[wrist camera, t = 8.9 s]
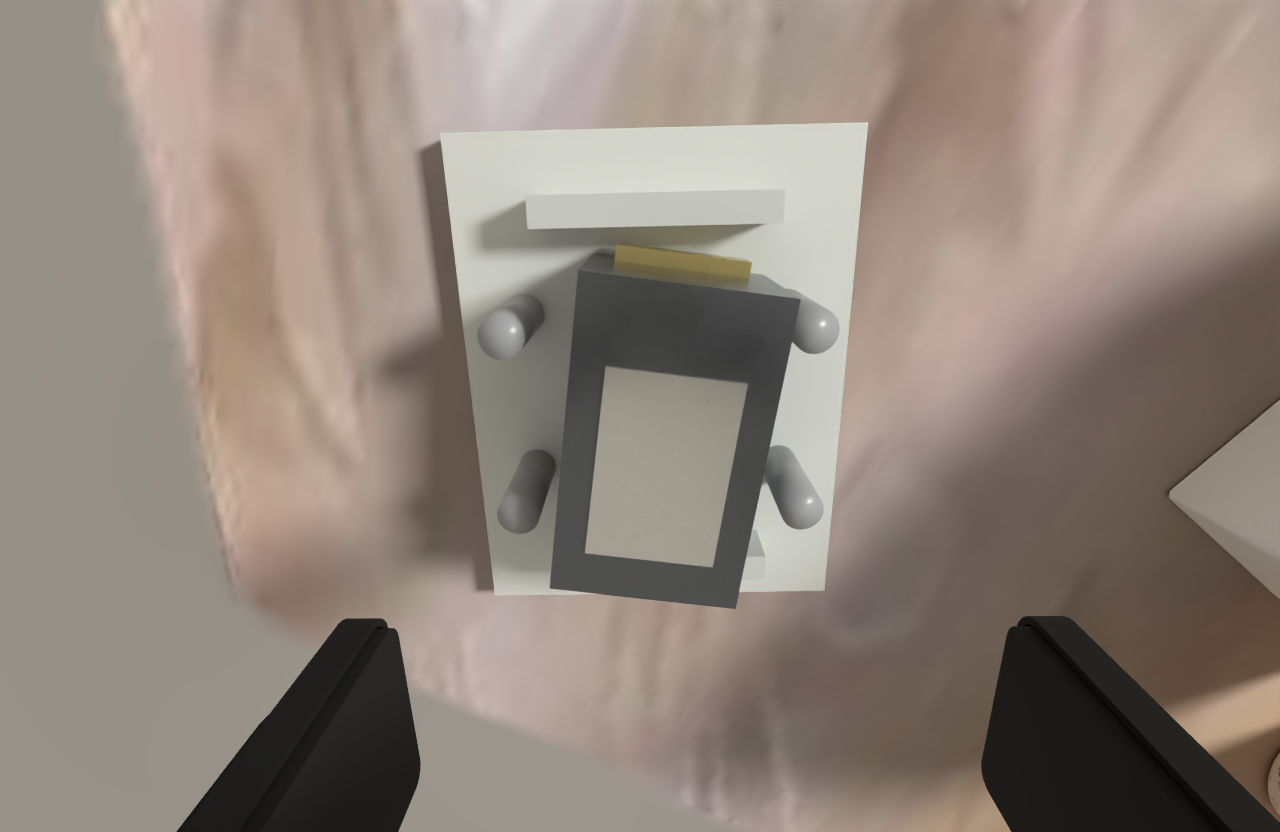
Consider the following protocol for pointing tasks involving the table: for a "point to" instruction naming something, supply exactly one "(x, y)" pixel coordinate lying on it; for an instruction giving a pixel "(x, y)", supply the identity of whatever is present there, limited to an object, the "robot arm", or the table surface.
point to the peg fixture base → (666, 218)
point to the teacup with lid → (1275, 784)
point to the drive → (667, 423)
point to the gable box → (1241, 498)
